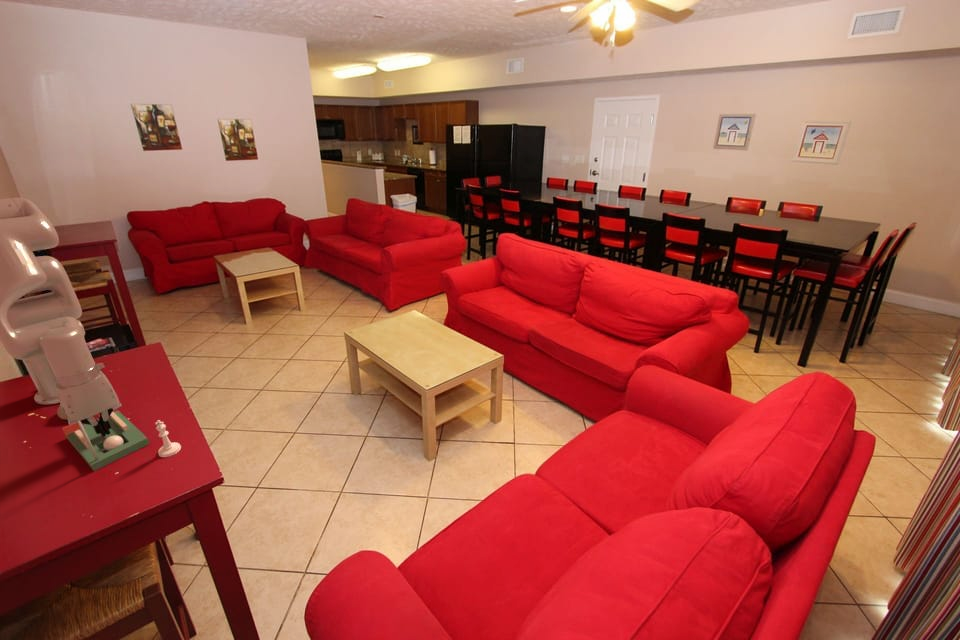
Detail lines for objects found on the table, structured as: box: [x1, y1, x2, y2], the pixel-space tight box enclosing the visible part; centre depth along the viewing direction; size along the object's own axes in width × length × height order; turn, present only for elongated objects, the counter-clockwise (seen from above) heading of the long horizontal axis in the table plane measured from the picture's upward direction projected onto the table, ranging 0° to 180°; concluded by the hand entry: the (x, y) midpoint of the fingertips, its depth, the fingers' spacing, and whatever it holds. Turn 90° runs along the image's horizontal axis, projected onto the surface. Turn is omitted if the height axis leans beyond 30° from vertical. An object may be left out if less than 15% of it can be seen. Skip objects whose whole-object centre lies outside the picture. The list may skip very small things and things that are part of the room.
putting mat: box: [61, 409, 150, 472], centre depth 110 cm, size 20×14×14 cm
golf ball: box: [103, 436, 123, 451], centre depth 110 cm, size 4×4×4 cm
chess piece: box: [154, 419, 182, 458], centre depth 109 cm, size 5×5×10 cm
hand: (104, 433), depth 112 cm, fingers closed
